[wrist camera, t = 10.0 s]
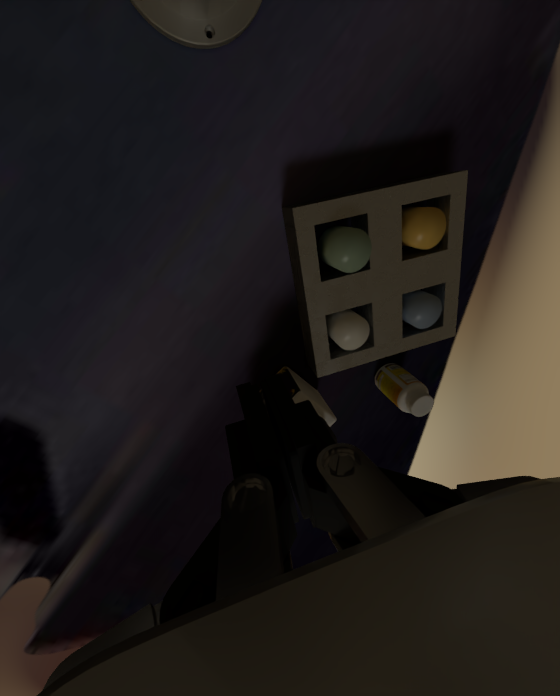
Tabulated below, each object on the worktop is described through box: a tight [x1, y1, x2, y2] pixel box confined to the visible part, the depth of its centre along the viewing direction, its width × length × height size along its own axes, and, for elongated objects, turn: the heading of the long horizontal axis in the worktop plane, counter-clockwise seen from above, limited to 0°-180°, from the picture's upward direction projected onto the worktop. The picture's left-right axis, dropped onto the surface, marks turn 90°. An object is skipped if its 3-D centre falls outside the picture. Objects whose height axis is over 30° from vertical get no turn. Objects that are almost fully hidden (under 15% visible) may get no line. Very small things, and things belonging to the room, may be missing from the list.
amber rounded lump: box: [402, 207, 446, 249], centre depth 37 cm, size 4×4×4 cm
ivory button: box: [325, 309, 370, 350], centre depth 40 cm, size 4×4×4 cm
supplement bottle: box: [375, 363, 434, 417], centre depth 45 cm, size 5×5×8 cm
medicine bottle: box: [259, 366, 337, 443], centre depth 40 cm, size 7×7×12 cm
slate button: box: [402, 290, 442, 329], centre depth 42 cm, size 4×4×4 cm
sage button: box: [318, 225, 372, 273], centre depth 35 cm, size 4×4×4 cm
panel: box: [282, 170, 468, 378], centre depth 39 cm, size 20×20×4 cm
